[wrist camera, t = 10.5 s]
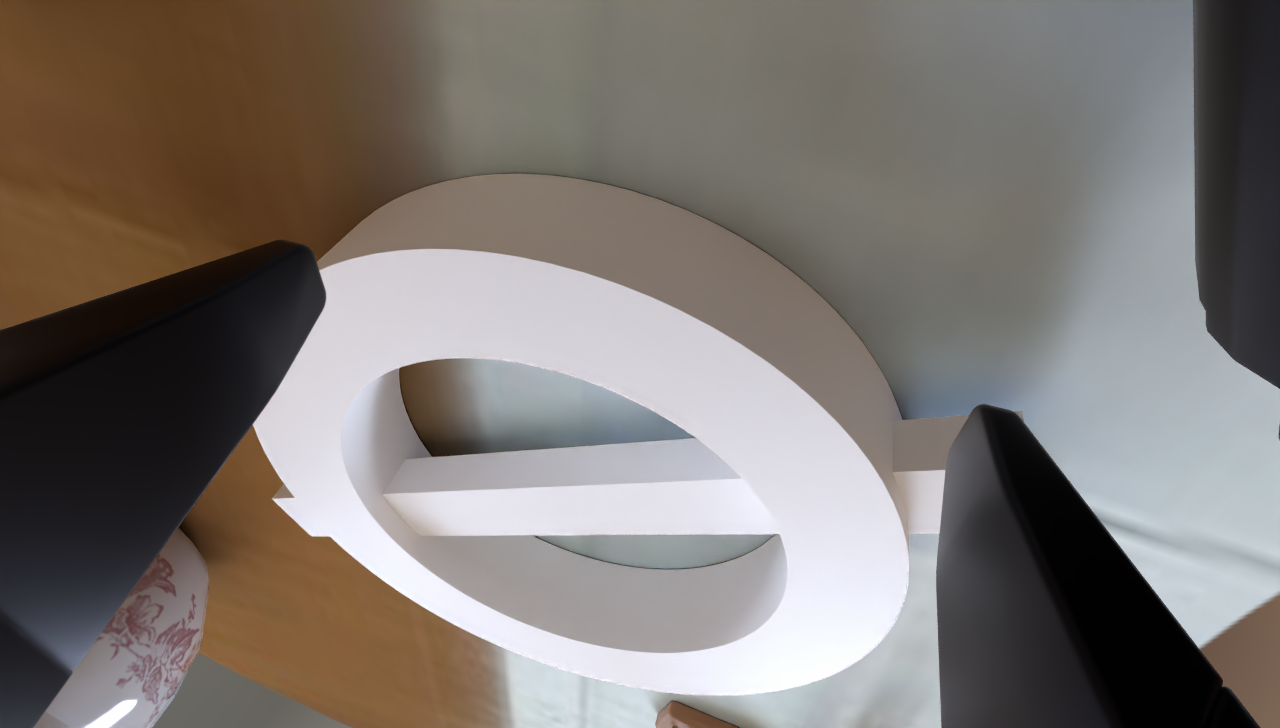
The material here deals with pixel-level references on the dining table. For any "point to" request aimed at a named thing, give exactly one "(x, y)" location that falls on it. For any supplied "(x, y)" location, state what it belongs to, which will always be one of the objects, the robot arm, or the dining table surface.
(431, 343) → the ring with crossbar
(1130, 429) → the dining table surface
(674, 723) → the gingerbread man figurine
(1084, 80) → the dining table surface
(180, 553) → the chamber pot
